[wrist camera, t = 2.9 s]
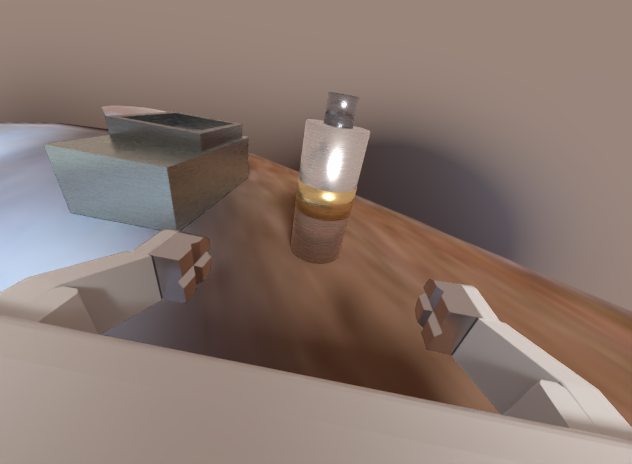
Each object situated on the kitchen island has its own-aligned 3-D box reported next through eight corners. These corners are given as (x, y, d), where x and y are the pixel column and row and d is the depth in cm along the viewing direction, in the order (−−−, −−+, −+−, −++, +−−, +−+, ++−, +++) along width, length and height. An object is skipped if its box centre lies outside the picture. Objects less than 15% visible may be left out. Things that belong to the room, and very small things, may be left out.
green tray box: (64, 211, 22) (26, 117, 18) (182, 165, 37) (175, 109, 33) (176, 233, 21) (163, 143, 18) (248, 177, 37) (249, 123, 33)
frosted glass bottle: (284, 257, 21) (304, 86, 15) (295, 231, 25) (313, 89, 19) (339, 268, 21) (383, 101, 14) (340, 239, 25) (374, 101, 19)
